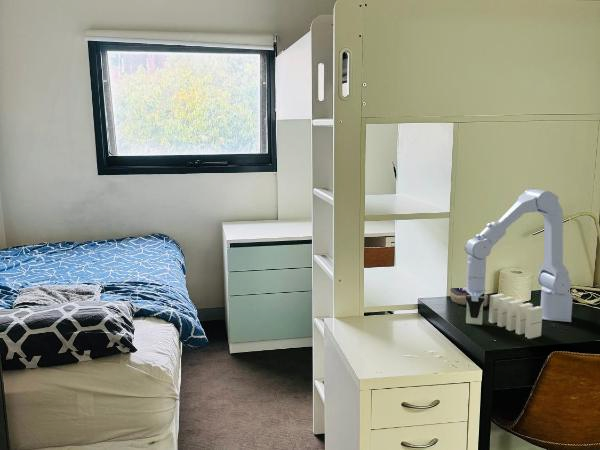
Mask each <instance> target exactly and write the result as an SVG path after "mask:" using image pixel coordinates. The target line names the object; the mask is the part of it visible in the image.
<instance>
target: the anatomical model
mask: <svg viewBox="0 0 600 450" xmlns="http://www.w3.org/2000/svg"><path fill="white" fill-rule="evenodd" d="M450 288H451V289H449V295H450V296H449V297H450V300H451V302H453V303H454V302H455V303H457V304H456V305H458V304H460V305H459V306H466V307H467V300H466V296H467V294H466V293H467V292H466V291H463V288H460V289H459V288H452V287H450ZM483 298H484V301H483V307H486V306H488V299H489V296H488V294H486V293H484V297H483ZM455 303H454V304H455Z"/></svg>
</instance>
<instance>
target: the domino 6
mask: <svg viewBox="0 0 600 450" xmlns="http://www.w3.org/2000/svg"><path fill="white" fill-rule="evenodd" d="M542 312H543V308H542V307H540V305H538V306H533V307H532V308H528V309H527V313H526V329H525V333H524V337H525V338H526V337H527V338H526V339H529V340H531V339H534V338H538V337H541V336H542V327H543V326H542V323H543V319H542Z"/></svg>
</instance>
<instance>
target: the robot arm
mask: <svg viewBox="0 0 600 450" xmlns="http://www.w3.org/2000/svg"><path fill="white" fill-rule="evenodd" d="M527 213H539V214H540V215H542V216H543V220H544V221H543V222H544V223H543V224H544V225H543V226H544V233H543V235H544V244H543V245H544V247H543V248H544V253H543V254H544V261H543V263H542V264H541V265H540V266H539V267H540V269H539V273H538V275H537V282H538V284H539V285H540V289H541V292H540V305H539V307H542V308H543V312H542V321H543V320H544V321H545V320H546V321H554V322H555V321H556V322H565V323H566V322H568V323H572V313H573V312H572V311H573V294H572V292H568V291H569V290H570V288H571V287H572V280H571V278H570V275H569V270H568V268H566V266H565V264H564V261H563V260H564V253H563V252H564V244H563V243H564V226H563V225H564V210H563V208H562V206H561V203H560V202H559V196H558V195H557V194H555V193H554V192H552V191H550V190H542V189H537V188H534V187H530V188H527V189H526V190H525V191H524V192H523V193H522V194H520V195H519V196H518V199H517V200H516V202H515V203H514V204H513V205H512V206H510V208H509V209H508V210H507V211H506V212H505V213H504V214H503V215H502V216H501V217H500V219H498V220H497V221H491V222H488V223H487V224H486V225H485V226H486V227H485V228H483V229H482V230H481V231H480V232H479V233H476V235H475V237H473V238H470V239H468V240H467V242H466V244H465V246H463V247H464V251H465V252H466V254H467V260H466V261H467V262H466V263H467V264H466V284H465V285H466V286H465V287H463V291H466V292H467V293H466V294H467V295H470V296H466V300H467V302H468V305H469V310H470V316H471V318H478V315H479V311H480V307H481V305H482V303H483V301H484V298H479V296H482V297H484V294H486V274H487V273H486V272H487V271H486V270H487V257H488V256H490V254H491V251H492V249H493V247H494V246H495V245H496V244H497V243H498V242H499V241H500V240H501V239H502V238H503V237H504V236H505V235H506V233H507V231H506V230H507V229H508V228H509V227H510V226H511V225H512V224H514V223H515V222H516V221H518V220H519V219H520V218H521V217H523V216H524V215H525V214H527Z"/></svg>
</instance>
